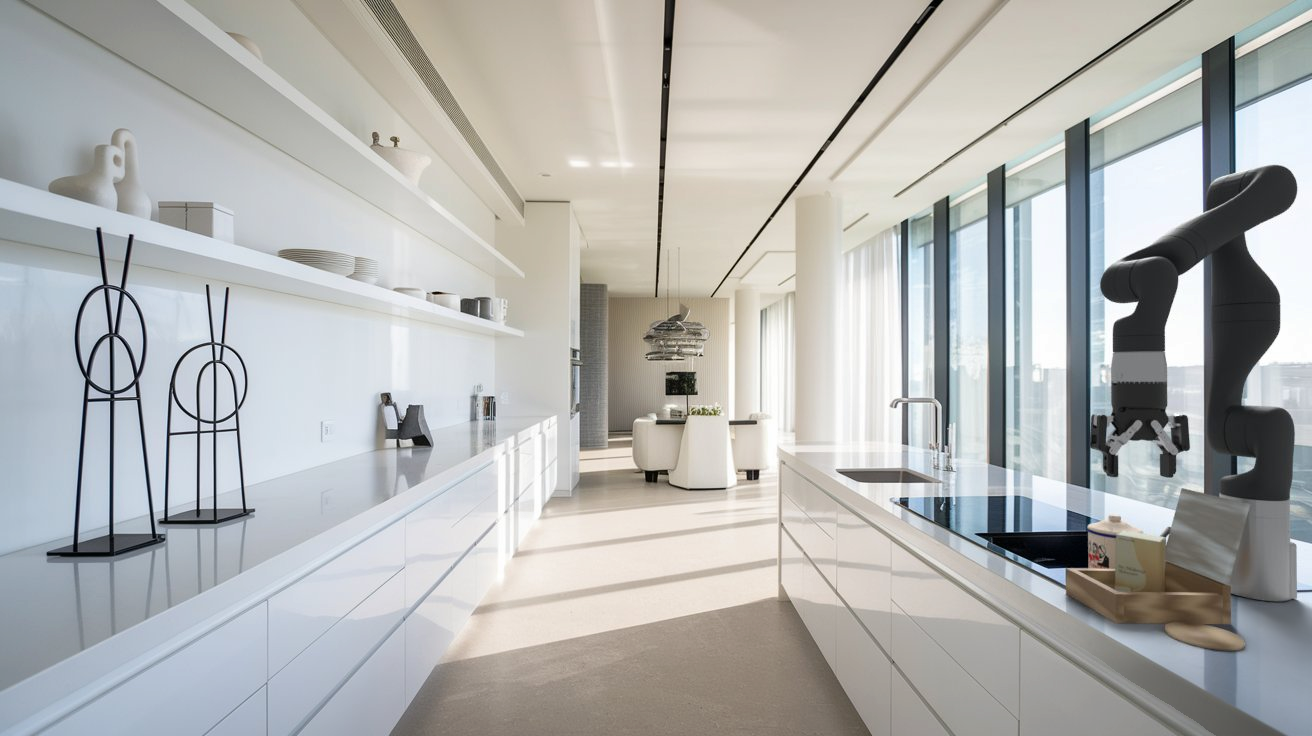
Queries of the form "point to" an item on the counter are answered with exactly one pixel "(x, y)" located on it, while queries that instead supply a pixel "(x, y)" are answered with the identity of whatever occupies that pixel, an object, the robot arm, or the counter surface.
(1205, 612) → the cold frame
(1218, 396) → the robot arm
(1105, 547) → the teacup with lid
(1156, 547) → the skincare box
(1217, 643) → the cork mat
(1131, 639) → the counter surface
